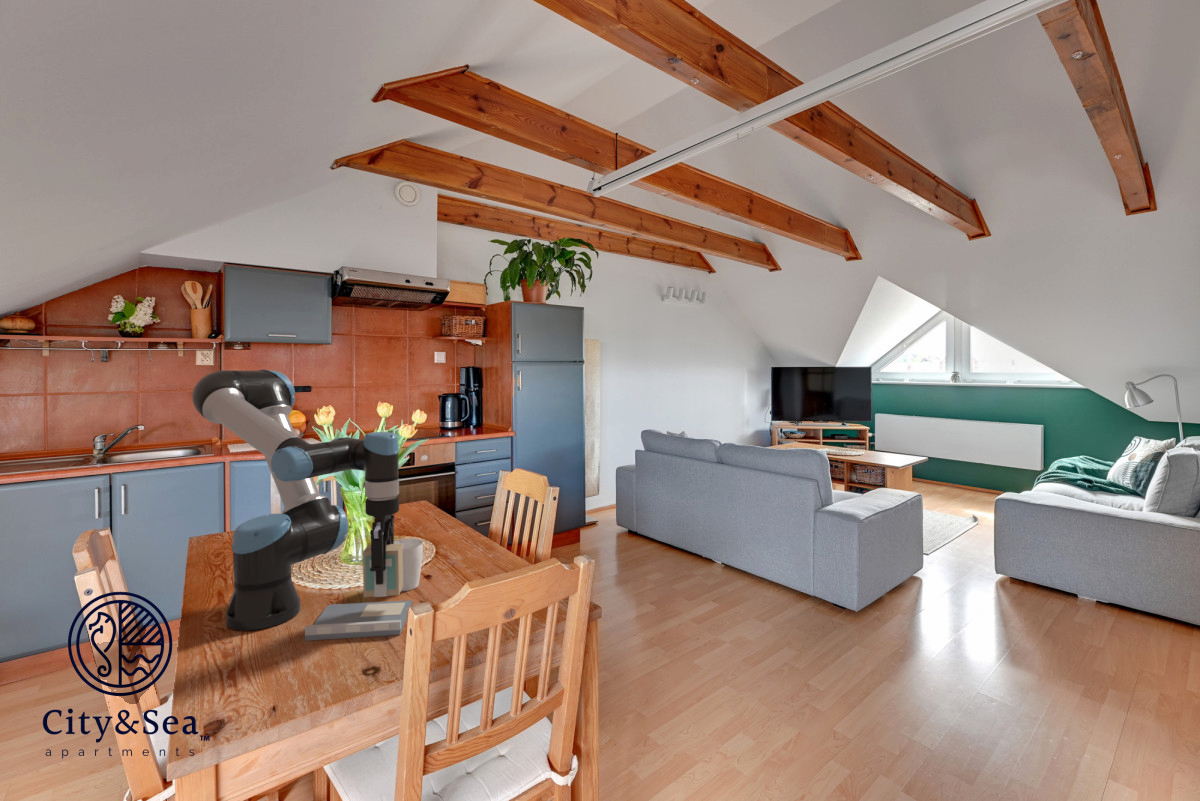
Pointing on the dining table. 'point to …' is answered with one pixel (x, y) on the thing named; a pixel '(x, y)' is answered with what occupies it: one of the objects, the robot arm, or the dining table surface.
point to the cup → (411, 562)
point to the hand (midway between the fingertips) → (383, 590)
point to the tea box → (393, 570)
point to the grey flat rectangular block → (359, 620)
